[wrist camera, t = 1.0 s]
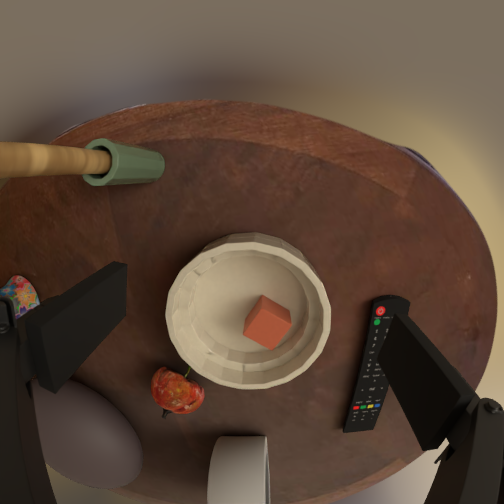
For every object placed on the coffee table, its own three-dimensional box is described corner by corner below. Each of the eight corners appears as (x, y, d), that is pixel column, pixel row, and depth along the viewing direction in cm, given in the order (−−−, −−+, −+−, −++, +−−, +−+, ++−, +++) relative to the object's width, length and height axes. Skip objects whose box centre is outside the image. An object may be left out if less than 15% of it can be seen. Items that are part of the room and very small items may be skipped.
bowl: (224, 203, 34) (216, 207, 28) (348, 281, 35) (363, 300, 30) (158, 319, 38) (142, 341, 32) (270, 380, 39) (270, 408, 34)
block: (262, 294, 36) (261, 307, 32) (289, 310, 36) (292, 325, 32) (244, 319, 37) (242, 334, 33) (271, 334, 37) (272, 351, 33)
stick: (145, 154, 32) (-108, 136, 3) (158, 162, 33) (-101, 152, 3) (137, 169, 33) (-115, 182, 4) (150, 177, 33) (-107, 203, 4)
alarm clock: (270, 485, 46) (269, 564, 27) (233, 485, 47) (224, 563, 27) (265, 420, 41) (262, 528, 22) (217, 420, 42) (197, 524, 23)
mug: (38, 272, 37) (-8, 295, 27) (50, 326, 40) (12, 356, 29) (-3, 269, 38) (-44, 288, 28) (8, 318, 40) (-27, 342, 30)
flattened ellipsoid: (180, 449, 44) (161, 512, 30) (92, 454, 48) (67, 499, 33) (100, 343, 40) (47, 401, 25) (23, 368, 43) (-19, 408, 28)
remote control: (341, 427, 41) (343, 432, 40) (371, 295, 36) (374, 299, 34) (371, 424, 41) (373, 429, 40) (406, 294, 36) (411, 298, 34)
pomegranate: (171, 340, 41) (133, 394, 37) (182, 346, 35) (138, 409, 30) (210, 368, 43) (174, 419, 39) (228, 378, 36) (187, 437, 32)
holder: (144, 144, 33) (92, 131, 21) (171, 159, 33) (126, 150, 21) (129, 173, 34) (73, 173, 22) (154, 188, 34) (104, 194, 22)
